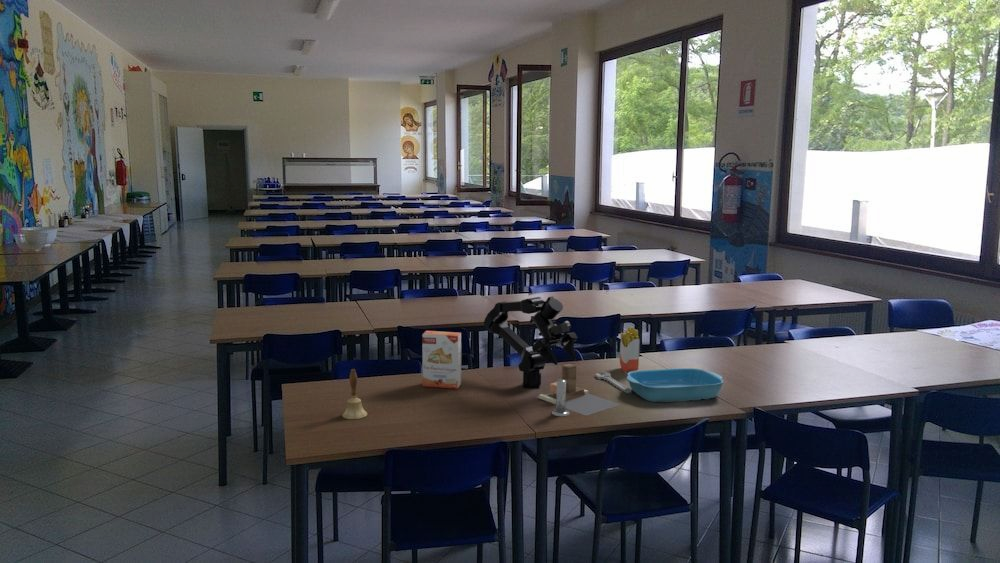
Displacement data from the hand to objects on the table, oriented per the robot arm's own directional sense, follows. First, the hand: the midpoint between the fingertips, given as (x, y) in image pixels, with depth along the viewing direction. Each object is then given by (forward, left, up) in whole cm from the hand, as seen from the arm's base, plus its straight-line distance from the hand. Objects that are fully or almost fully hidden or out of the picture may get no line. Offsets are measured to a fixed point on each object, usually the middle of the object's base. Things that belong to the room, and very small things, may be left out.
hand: (565, 362), depth 263 cm
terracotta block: (-2, +2, -13) cm, 13 cm away
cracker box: (-47, +9, -14) cm, 50 cm away
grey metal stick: (-2, -18, -13) cm, 23 cm away
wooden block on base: (+1, -1, -13) cm, 13 cm away
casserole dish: (+40, +8, -14) cm, 43 cm away
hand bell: (-71, -26, -14) cm, 77 cm away
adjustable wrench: (+18, +19, -14) cm, 30 cm away
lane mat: (+4, -4, -13) cm, 15 cm away
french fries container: (+26, +37, -14) cm, 47 cm away
